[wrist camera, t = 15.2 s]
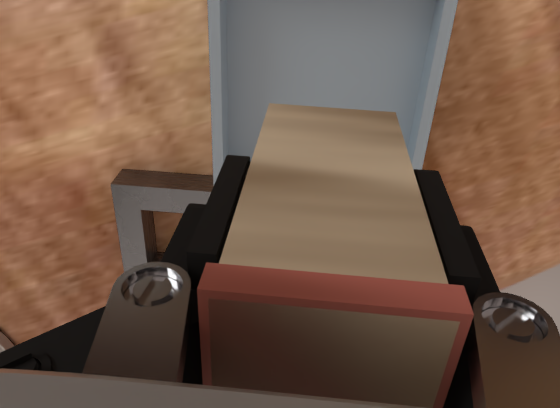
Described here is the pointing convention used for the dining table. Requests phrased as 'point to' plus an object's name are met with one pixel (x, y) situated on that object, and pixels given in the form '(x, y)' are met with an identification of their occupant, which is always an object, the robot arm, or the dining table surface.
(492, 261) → the dining table surface
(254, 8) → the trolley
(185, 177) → the socket block
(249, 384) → the pin
